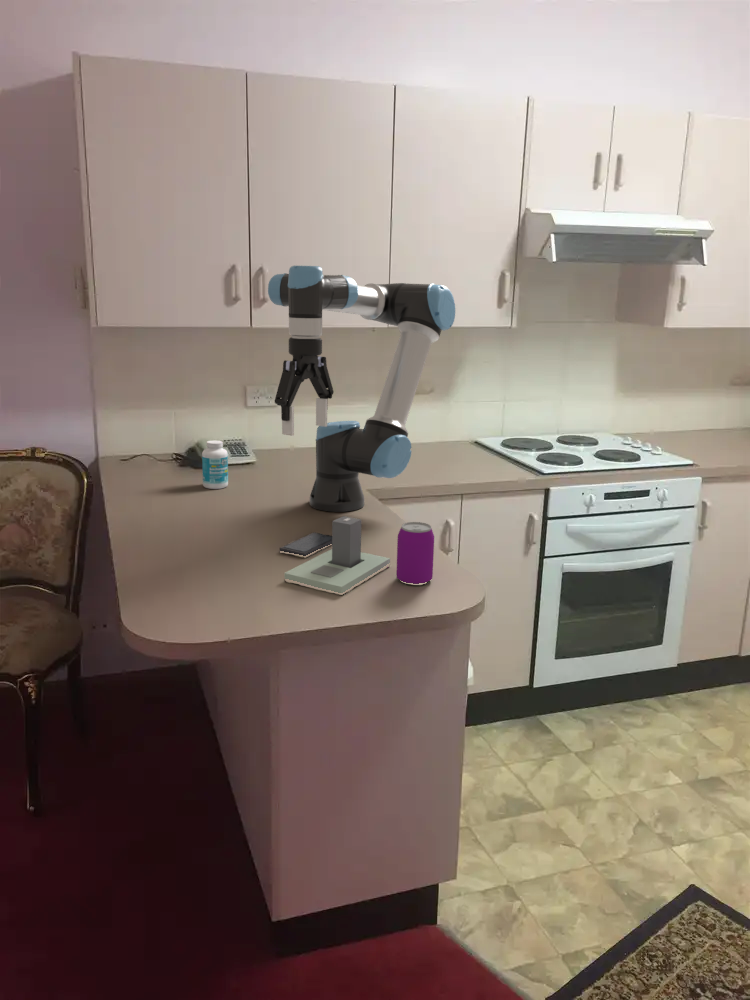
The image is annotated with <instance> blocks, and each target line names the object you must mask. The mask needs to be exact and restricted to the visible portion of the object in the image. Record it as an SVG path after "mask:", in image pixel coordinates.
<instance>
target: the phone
mask: <svg viewBox="0 0 750 1000" xmlns="http://www.w3.org/2000/svg"><path fill="white" fill-rule="evenodd" d="M330 544H332V535H329V534H325V533H324V534H323V533H318V532H311V533H309V534H306V535H305V536H303V537H301V538H298V539H296V540H293V541H291V542H289V543H287V544H285V545H283V546H281V547H279V552H280V551H284V552H289V553H294V554H299V555H303V556H306V555H308V554H310V553H312V552H314V551H316V550H318V549H321V548H323V547H325V546H328V545H330Z"/></svg>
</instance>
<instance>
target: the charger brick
mask: <svg viewBox="0 0 750 1000" xmlns="http://www.w3.org/2000/svg"><path fill="white" fill-rule="evenodd" d="M331 525H332V526H331V527H332V528H331V529H332V530H331V532H332V533H331V536H332V545H331V549H332V564H335V565H339V566H344V567H348V568H352V567H354V566H356V565H357V564H359V563H361V552H362V518H355V517H351V516H344V515H343V516H341V517H338V518H336V519H334V520H332V523H331Z"/></svg>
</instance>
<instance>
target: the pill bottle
mask: <svg viewBox="0 0 750 1000" xmlns="http://www.w3.org/2000/svg"><path fill="white" fill-rule="evenodd" d="M223 446H224V442H223V441H222V440H207V441H206V448H204V449H203V451H202V453H201V461H202V467H201V468H202V486H203V487H204V488H206V489H209V490H210V489H211V490H219V489H220V490H221V489H224V488H226V487H228V485H229V463H228V462H229V455H228V451H227V449H225V448H223Z"/></svg>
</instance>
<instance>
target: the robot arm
mask: <svg viewBox="0 0 750 1000" xmlns="http://www.w3.org/2000/svg"><path fill="white" fill-rule="evenodd" d="M267 295H268V298H269V300H270V301H271V302H272V303H273V304H274V305H276V306H281V307H288V335H289V336H291V337H289V338H288V354H289V355H291V356H292V360H285V359H284V360H283V364H282V365H283V366H282V372H281V376H280V379H279V382H278V383H279V384H278V388H277V390H276V395H275V398H274V404H275V405H277V406H280V407H281V413H280V414H281V415H280V417H281V418H280V419H281V434H282V436H283V435H284V436H294V435H295V406H293V402H294V399H295V398H296V395H297V393H298V391H299V388H300V386H301V385H302V383H303V382H304V381H305V380H308V379H309V381H310V383H311V385H312V386H313V388H314V391H315V392H316V395H317V396H318V397H316V398H315V426H318V427H317V429H316V438H315V473H316V474H315V479H314V483H313V485H312V489H311V492H310V495H309V506H310V507H311V508H313V509H316V510H319V511H325V512H331V513H333V512H334V513H335V512H336V513H339V512H340V513H341V512H342V513H343V512H345V513H346V512H353V511H357V510H360V509H361V508H363V507H364V506H365V494H364V492H363V489H362V485H361V482H360V478H359V474H363V475H369V476H373V477H375V478H382V479H383V478H384V479H385V478H386V479H393V478H396V477H398V476H399V475H401V474H402V473H403V472H404V471H405V470H406V468H407V466H408V464H409V463H410V460H411V456H412V450H411V449H412V443H411V440H410V439H409V438H408V436H409V431H408V429H407V427H406V423H407V422H408V421H407V420H408V416H409V414H410V412H411V411H410V410H411V407H412V405H413V402H414V399H415V396H416V392H417V390H418V386H419V383H420V379H421V376H422V374H423V370H424V367H425V364H426V363H427V362H426V361H427V358H428V355H429V352H430V349H431V345H432V344H434V343H435V342H437V341H439V339H440V336H441V333H442V331H447V330H449V329H450V328H451V327H453V324H454V323H455V318H456V304H455V299H454V295H453V293H452V291H451V290H450V288H448V287H447V286H446V285H443V284H435V283H430V284H429V283H406V282H404V283H403V282H397V283H396V282H395V283H393V282H392V283H383V284H382V283H380V284H379V283H377V284H376V283H366V284H364V285H359V284H357V282H356V281H355V279H353V278H352V277H351V276H349V275H343V274H338V275H337V274H335V275H334V274H332V275H331V274H324V273H323V268H322V267H321V266H319V265H292V266H290V267H289V269H288V273H277V274H274V275H273V276H272V277H271V278H270V280H269V281H268V284H267ZM323 311H327V312H336V313H342V314H343V313H345V314H352V315H357V316H358V315H359V316H360V317H361V318H363V319H365V320H368V321H374V322H377V323H378V322H379V323H382V324H386V325H390V326H394V327H397V329H398V330H399V332H400V335H399V339H398V342H397V345H396V347H395V351H394V353H393V356H392V360H391V363H390V366H389V369H388V371H387V375H386V379H385V381H384V383H383V384H384V385H383V387H382V390H381V393H380V397H379V398H378V402H377V405H376V409H375V411H374V414H373V416H371V417H370V418H369V417H368V418H367V419H366V421H365V424H364V426H363V427H364V428H360V427H361V425H360V422H359V421H357V420H340V421H338V420H337V421H331V422H328V408H329V407H328V406H329V405H328V404H329V403H328V402H329V401H328V399H333V395H334V388H333V385H332V381H331V380H332V379H331V376H330V374H329V371H328V366H327V357H326V356H321V355H322V354H323V339H322V338H321V337H322V335H323Z"/></svg>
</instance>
